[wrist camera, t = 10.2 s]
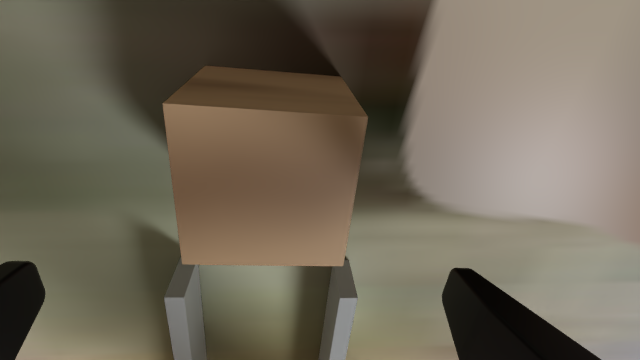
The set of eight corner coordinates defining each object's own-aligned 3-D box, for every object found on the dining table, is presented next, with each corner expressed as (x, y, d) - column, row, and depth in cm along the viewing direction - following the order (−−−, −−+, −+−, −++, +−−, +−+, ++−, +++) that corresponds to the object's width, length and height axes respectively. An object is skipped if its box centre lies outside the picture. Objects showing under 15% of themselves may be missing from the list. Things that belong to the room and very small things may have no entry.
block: (326, 189, 15) (343, 266, 11) (212, 184, 15) (182, 264, 10) (340, 76, 13) (367, 116, 9) (205, 65, 13) (162, 103, 8)
